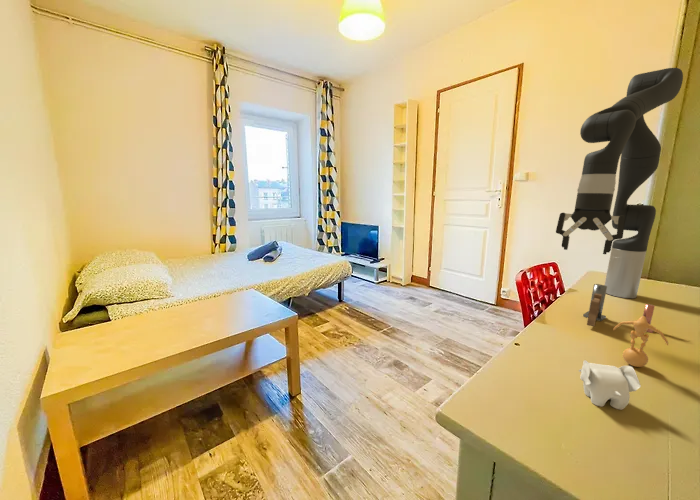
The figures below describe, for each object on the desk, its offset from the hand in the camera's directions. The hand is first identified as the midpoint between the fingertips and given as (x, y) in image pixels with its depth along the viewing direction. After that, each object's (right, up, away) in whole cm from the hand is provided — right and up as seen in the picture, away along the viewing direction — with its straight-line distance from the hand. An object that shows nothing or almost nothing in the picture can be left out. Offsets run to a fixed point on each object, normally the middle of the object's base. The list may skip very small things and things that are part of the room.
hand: (584, 251), depth 81 cm
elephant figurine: (-19, -27, -27) cm, 43 cm away
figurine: (-4, -25, -18) cm, 31 cm away
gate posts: (+13, -21, +4) cm, 25 cm away
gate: (+4, -20, +3) cm, 21 cm away
